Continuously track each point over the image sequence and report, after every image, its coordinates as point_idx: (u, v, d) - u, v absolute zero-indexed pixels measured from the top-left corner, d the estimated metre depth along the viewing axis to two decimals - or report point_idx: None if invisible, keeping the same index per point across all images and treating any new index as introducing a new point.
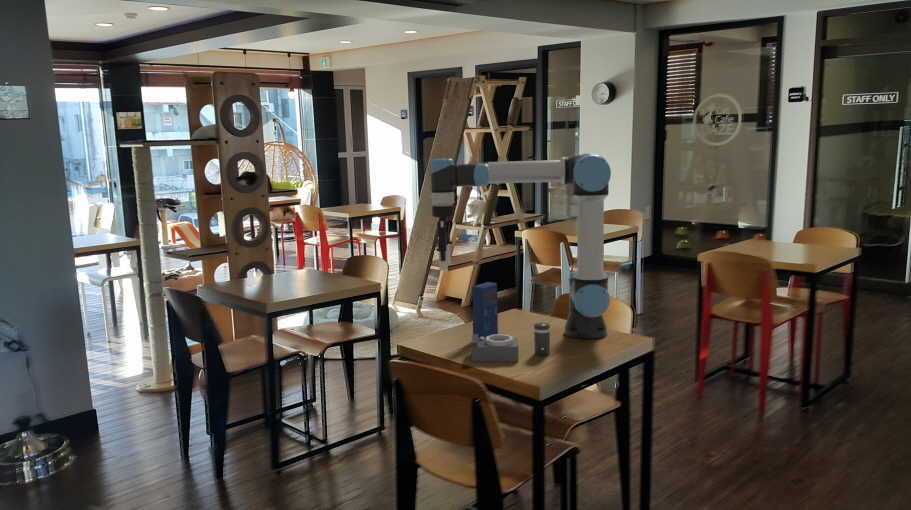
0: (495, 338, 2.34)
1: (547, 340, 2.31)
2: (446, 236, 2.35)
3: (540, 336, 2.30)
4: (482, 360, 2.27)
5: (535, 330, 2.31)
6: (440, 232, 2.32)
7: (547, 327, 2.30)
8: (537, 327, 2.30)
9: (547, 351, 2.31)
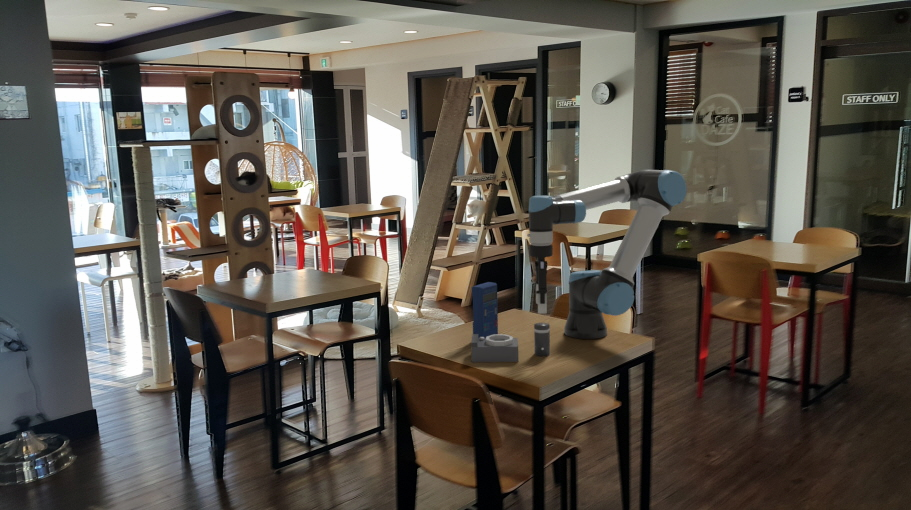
0: (495, 338, 2.34)
1: (547, 340, 2.31)
2: None
3: (540, 336, 2.30)
4: (482, 360, 2.27)
5: (535, 330, 2.31)
6: (540, 273, 2.21)
7: (547, 327, 2.30)
8: (537, 327, 2.30)
9: (547, 351, 2.31)
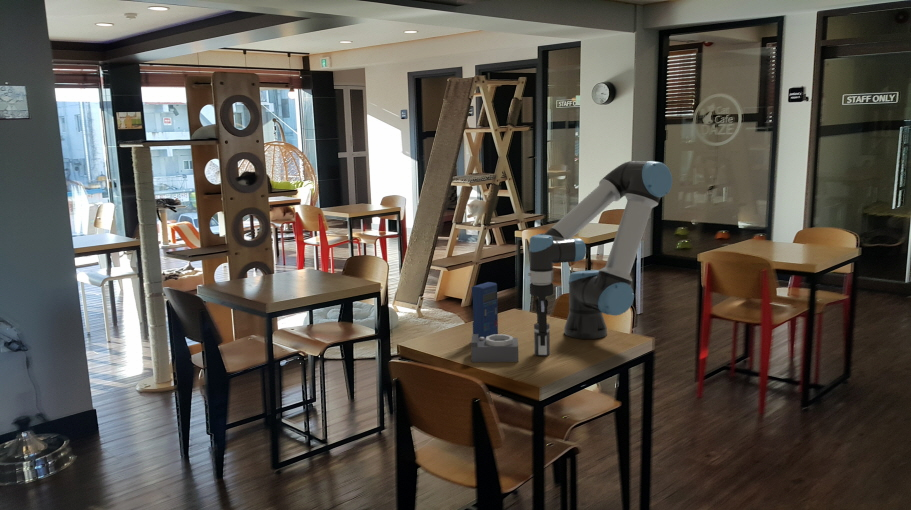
0: (495, 338, 2.34)
1: (547, 340, 2.31)
2: None
3: None
4: (482, 360, 2.27)
5: (535, 330, 2.31)
6: (541, 317, 2.25)
7: (547, 327, 2.30)
8: (537, 327, 2.30)
9: (547, 351, 2.32)
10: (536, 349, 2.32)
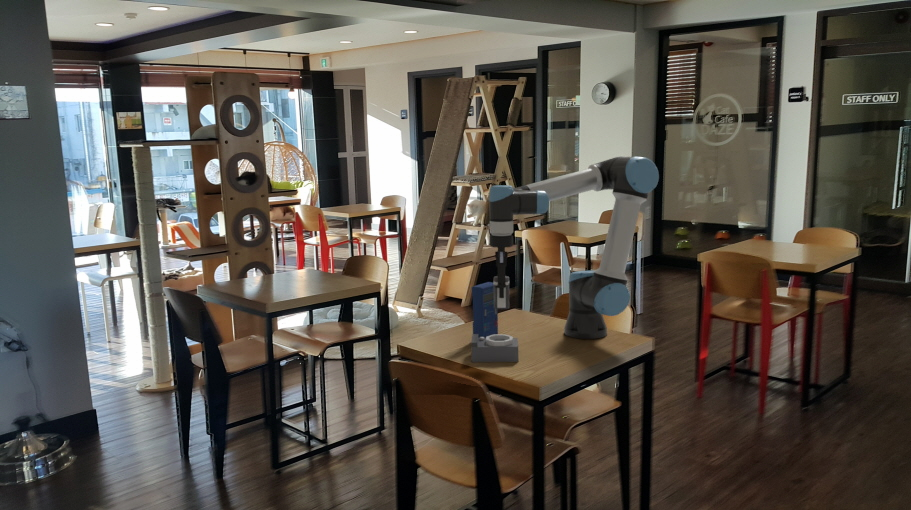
0: (495, 338, 2.34)
1: (506, 293, 2.26)
2: None
3: None
4: (482, 360, 2.27)
5: (494, 282, 2.27)
6: (500, 268, 2.21)
7: (506, 279, 2.26)
8: (496, 279, 2.26)
9: (506, 304, 2.27)
10: (495, 302, 2.27)
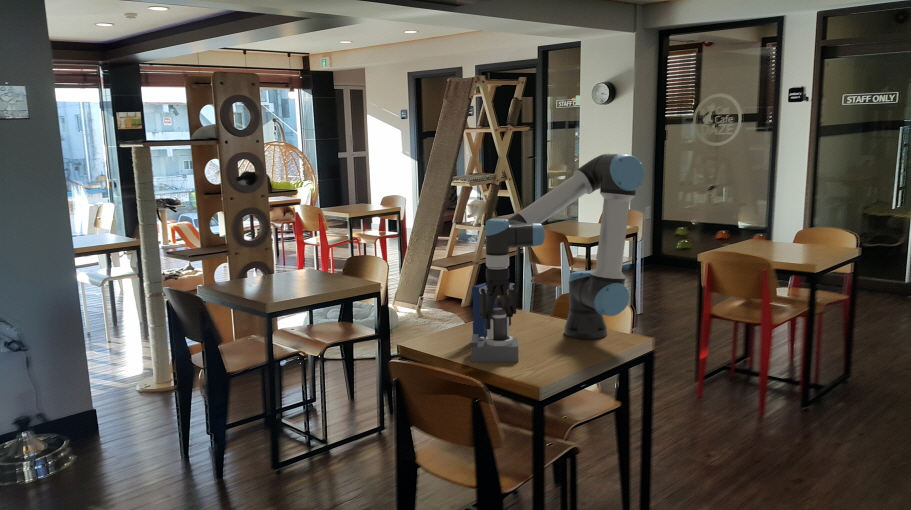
0: None
1: (496, 326, 2.28)
2: (491, 303, 2.26)
3: None
4: (482, 360, 2.27)
5: None
6: (480, 299, 2.26)
7: (496, 313, 2.27)
8: None
9: (496, 337, 2.28)
10: None
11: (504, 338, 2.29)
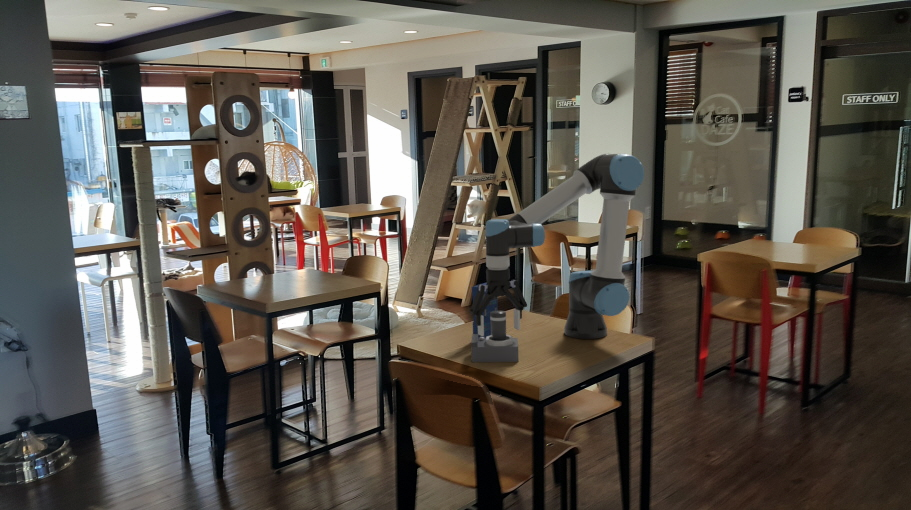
0: None
1: (496, 328, 2.28)
2: (486, 301, 2.25)
3: None
4: (482, 360, 2.27)
5: None
6: (476, 295, 2.25)
7: (496, 315, 2.27)
8: None
9: (496, 340, 2.28)
10: None
11: None
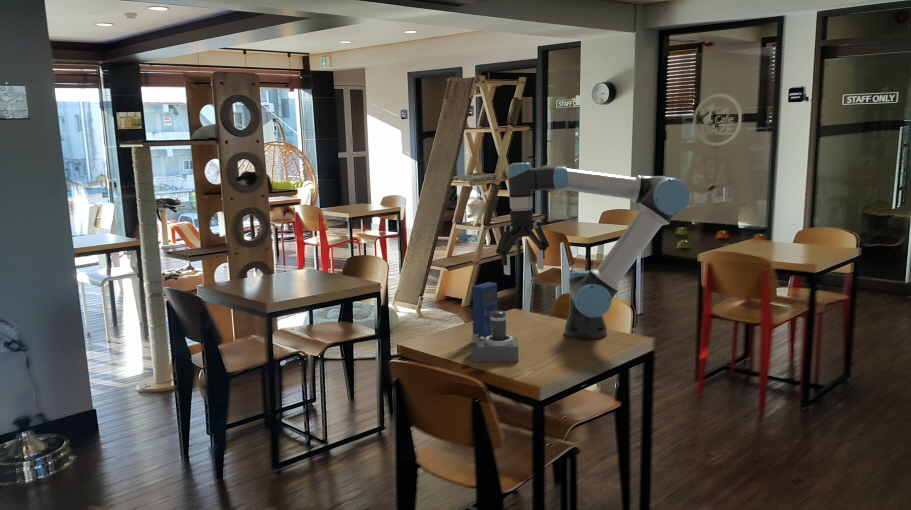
0: None
1: (496, 328, 2.28)
2: (511, 241, 2.35)
3: None
4: (482, 360, 2.27)
5: None
6: (502, 236, 2.35)
7: (496, 315, 2.27)
8: None
9: (496, 340, 2.28)
10: None
11: None
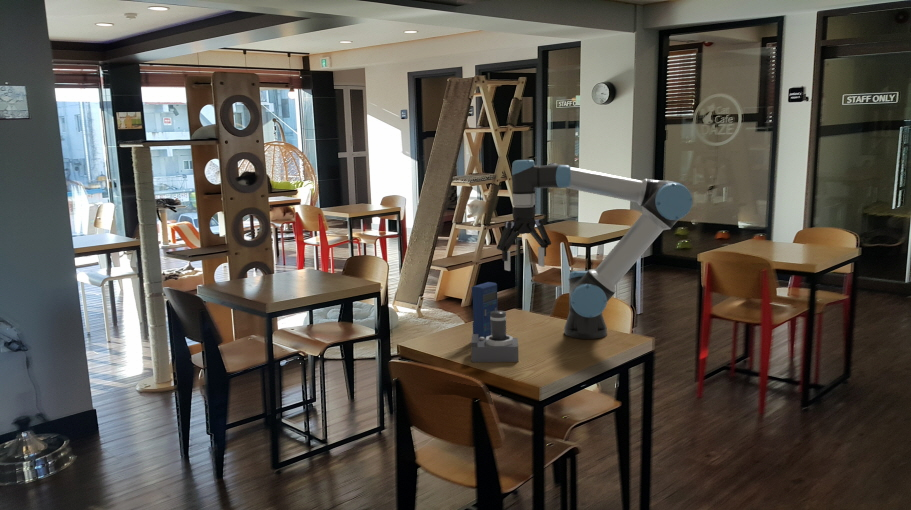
0: None
1: (496, 328, 2.28)
2: (513, 237, 2.36)
3: None
4: (482, 360, 2.27)
5: None
6: (503, 232, 2.36)
7: (496, 315, 2.27)
8: None
9: (496, 340, 2.28)
10: None
11: None
